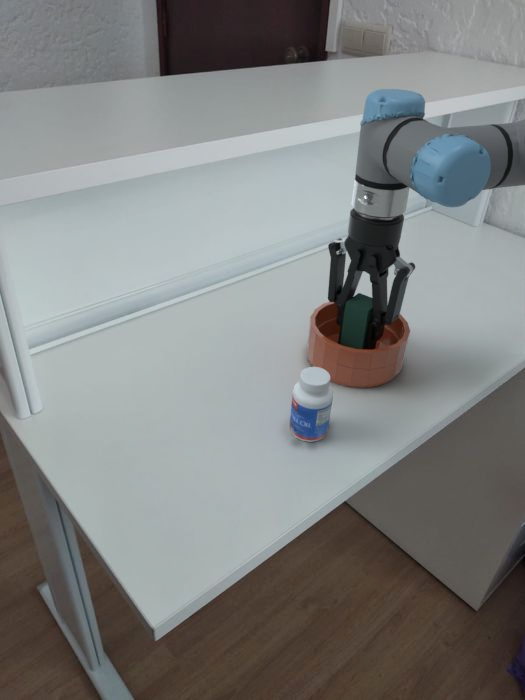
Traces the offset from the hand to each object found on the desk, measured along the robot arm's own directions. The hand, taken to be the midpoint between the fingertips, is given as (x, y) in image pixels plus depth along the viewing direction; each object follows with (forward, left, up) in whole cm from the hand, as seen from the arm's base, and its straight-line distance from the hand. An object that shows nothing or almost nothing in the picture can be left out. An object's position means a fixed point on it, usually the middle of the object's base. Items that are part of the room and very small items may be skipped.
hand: (356, 347), depth 94 cm
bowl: (0, 0, -2) cm, 2 cm away
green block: (0, 0, 0) cm, 0 cm away
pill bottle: (-4, +19, -3) cm, 19 cm away
